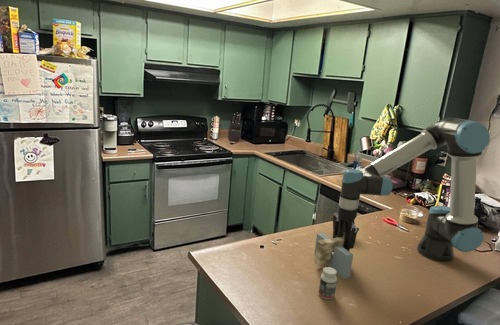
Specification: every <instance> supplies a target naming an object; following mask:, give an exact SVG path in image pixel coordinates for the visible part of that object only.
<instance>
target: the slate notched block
mask: <svg viewBox="0 0 500 325" xmlns="http://www.w3.org/2000/svg"><path fill="white" fill-rule="evenodd" d="M325 239H331V237H330V236H328V235H327V234H325V233H324V232H318V233H316V239H315V247H314V248H315V249H314V254H313V255H314V256H315V255H316V248H317V241H318V240H325ZM353 258H354V253H352V252H351V251H350V252H349V251H348V250H346V249H345V248H343V247H342V246H341V245H340V246H335V247H334V252H331V256H330V263H329V265H327V267H331V268H334V269H335V270H336V271H337V274H336V275H338V276H339V277H341V278H342V279H343V280H345V279H348V278H349V279H350V278H351V273H352V272H351V271H352V266H353V265H352V264H353Z"/></svg>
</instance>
